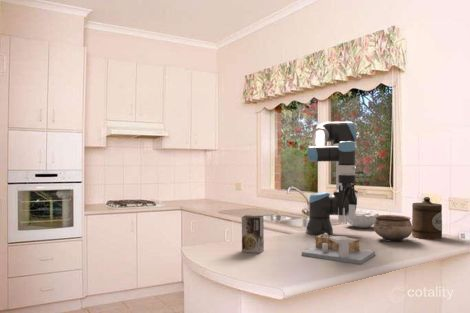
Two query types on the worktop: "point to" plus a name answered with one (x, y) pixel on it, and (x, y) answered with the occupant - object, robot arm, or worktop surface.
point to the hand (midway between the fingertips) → (346, 220)
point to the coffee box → (252, 234)
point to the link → (321, 239)
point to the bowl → (362, 219)
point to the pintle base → (339, 251)
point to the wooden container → (427, 220)
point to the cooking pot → (393, 227)
